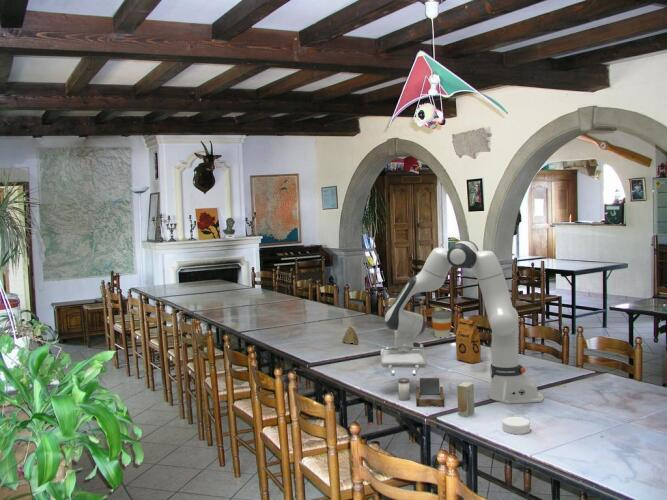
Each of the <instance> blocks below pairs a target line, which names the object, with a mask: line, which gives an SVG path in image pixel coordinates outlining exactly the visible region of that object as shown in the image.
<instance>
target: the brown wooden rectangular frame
mask: <svg viewBox="0 0 667 500" xmlns="http://www.w3.org/2000/svg"><path fill="white" fill-rule="evenodd" d="M439 392H440V394H439V396H440V398H420V395H421V394H420V386H416V394H415V396H416V397H415V399H416V400H415V402H416V403H415V404H416V407H426V406H429V407H430V406H434V407H436V406H438V407H443V408H444V407H445V395H444V387H443V386H439Z"/></svg>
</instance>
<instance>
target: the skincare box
mask: <svg viewBox="0 0 667 500" xmlns="http://www.w3.org/2000/svg"><path fill="white" fill-rule="evenodd" d="M474 386H475V385H474V382H470V381H469V382H468V381H462V382H460V383H458V384H457V387H456V388H457V393H456V394H457V415H458V416H462V417H469V416H471V415H472V414H474V413H475V391H474Z"/></svg>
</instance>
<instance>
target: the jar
mask: <svg viewBox="0 0 667 500" xmlns="http://www.w3.org/2000/svg"><path fill="white" fill-rule="evenodd" d="M397 382H398V400H399V401H409V400H410V395H411V393H410V379H409V378H408V377H407V378H406V377H400V378H398V379H397Z"/></svg>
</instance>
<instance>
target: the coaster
mask: <svg viewBox="0 0 667 500" xmlns="http://www.w3.org/2000/svg"><path fill="white" fill-rule="evenodd" d="M501 423H502V424H501V425H502V427H501V428H502V430H503V431H504V432H505V433H507V434H510V435H512V434H513V435H524V434H528V433H529V432H531V422H530V421H529V419H527V418H524V417H520V416H509V417H508V416H507V417H505V418H503V419H502V421H501Z"/></svg>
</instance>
